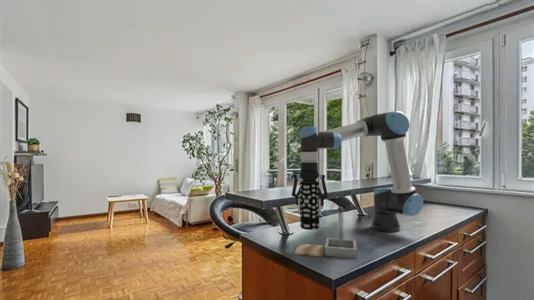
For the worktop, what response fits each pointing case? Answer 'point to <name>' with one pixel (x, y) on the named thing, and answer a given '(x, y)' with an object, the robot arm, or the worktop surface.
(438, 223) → the worktop surface
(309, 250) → the coaster
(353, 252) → the holder
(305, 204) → the white-spotted black cylinder
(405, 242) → the worktop surface
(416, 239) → the worktop surface
